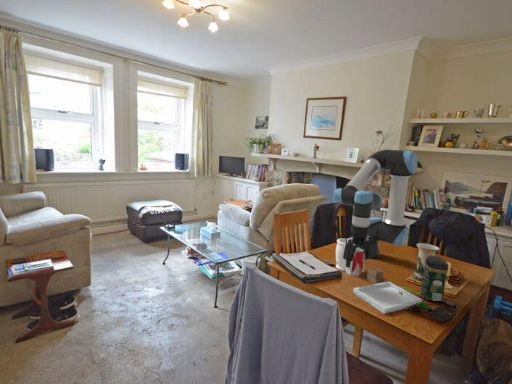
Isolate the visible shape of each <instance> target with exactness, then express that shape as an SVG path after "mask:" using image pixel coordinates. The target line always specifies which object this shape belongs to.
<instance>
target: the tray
mask: <svg viewBox="0 0 512 384" xmlns="http://www.w3.org/2000/svg"><path fill="white" fill-rule="evenodd" d="M399 291H400V292H402V293H403V295H402V296H401V294H400V293H399ZM352 293H353V294H354V295H356V296H357V297H359V298H360V299H361V300H363V301H365V302H366V303H368V304H369V305H370V306H372V307H373V308H375V309H376V310H377V311H379V312H381V313H382V314H383V315H387V314H389V313H393V312H396V311H401V310H405V309H407V308H406V307H409V306H412V305H414V304H416V303H418V302H423V299H422V298H420V297H418V296H416V295H415V294H413V293H412V292H409V291H408V290H405V289H403V288H401V286H398V285H397V284H394V283H392V282H391V281H384V282H383V281H382V283H377V284H373V283H371V284H368V285H364V286H357V287H353V290H352ZM398 293H399V294H398ZM404 308H405V309H404ZM409 308H410V307H409Z"/></svg>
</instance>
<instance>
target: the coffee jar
mask: <svg viewBox="0 0 512 384" xmlns="http://www.w3.org/2000/svg"><path fill="white" fill-rule="evenodd" d="M448 270H449V264H448V263H447V262H446V260H444V259H443V258H441V256H438V255H429V256H426V258H425V262H424V270H423V275H422V281H421V286H420V294H421V296H422V297H423V296H424V297H425V298H428V299H430V300H434V301H442V302H443V300H444V299H443V298H444V293H445V292H444V291H445V286H446V279H447V275H448ZM424 297H423V298H424ZM425 298H424V299H425Z"/></svg>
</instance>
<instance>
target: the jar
mask: <svg viewBox="0 0 512 384" xmlns="http://www.w3.org/2000/svg"><path fill="white" fill-rule="evenodd" d="M336 243H337V244H336V247H335V261H336V264H335V267H336V268H337V269H338V270H339V271H342V272H346V260H345V259H343V254H344V249H345V244H346V238H337V240H336ZM354 245H355V244H354Z"/></svg>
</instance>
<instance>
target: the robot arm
mask: <svg viewBox="0 0 512 384" xmlns="http://www.w3.org/2000/svg"><path fill="white" fill-rule="evenodd" d="M417 169H418V157H417V154H416V152H415V151H413V150H403V149H381V150H378V151H376V152H374V153H372V154H371V155H370V156H368V157H367V158H365V160H364V162H363V165H362V166H361V168H360V169H359V170H358V171H357V173H355V175H354V176H353V177H352V178H351V180H350V181H348V183H347V184H346V185H345V186H344V188H342V187H339V188H336V189H335V190H334V193H333V199H334V201H335V203H338V204H342V205H347V206H353V210H352V217H351V219H352V220H351V223H352V224H351V227H350V232H351V236H350V237H349V238H348V237H346V238H345V239H346V244H345V249H344V254H343V259H345V260H346V271H345V273H346V274H348V275H349V276H352V275H351V272H352V263H353V261H351V260H352V258H353V255H354V253H355V250H356V248H357V247H359V248H361V249H364V253H365V260H364V268H363V273H364V272H365V266H366V264H367V263H366V261H367V260H368V259H378V258H379V257H380V255H381V252H380V247H379V242H383V243H387V244H390V245H393V246H398V247H401V246H403V245H404V244H405V242H406V241H407V240H408V236H409V233H410V228H409V226H407V222H406V221H405V209H406V202H407V194H408V187H409V179H410V178H411V177H412V176H413V174H415V173H416V172H417ZM380 171H388V176H389V177H390V187H389V188H390V189H389V195H388V205H387V206H388V207H387V215H386V218H384V219H382V218H381V217H375V216H371V214H372V211H373V210H377V209H378V208H380V207H381V206H382V205H383V204H384V203H383V202H384V200H383V199H384V198H383V196H382V195H381V194H380V193H378V192H371V191H368V190H363V189H364V188H365V187H366V185H367V184H368V183H369V182H370V180H371V179H372V178H373V176H374V175H375V174H377V173H379V172H380ZM354 244H355V245H354Z"/></svg>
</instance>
